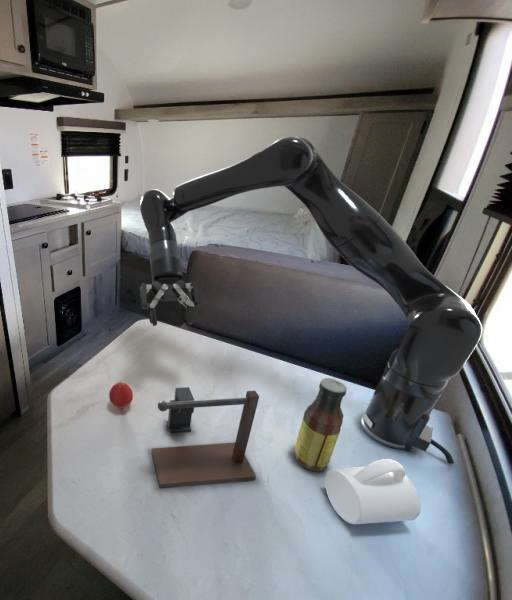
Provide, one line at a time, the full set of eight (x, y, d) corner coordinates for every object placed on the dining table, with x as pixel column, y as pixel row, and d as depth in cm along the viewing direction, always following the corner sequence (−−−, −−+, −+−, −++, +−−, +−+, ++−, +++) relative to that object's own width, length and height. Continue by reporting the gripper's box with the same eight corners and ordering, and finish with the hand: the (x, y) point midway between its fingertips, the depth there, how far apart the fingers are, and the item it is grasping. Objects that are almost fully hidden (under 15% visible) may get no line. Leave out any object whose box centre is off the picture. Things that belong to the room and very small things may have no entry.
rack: (255, 480, 63) (275, 409, 54) (157, 488, 61) (163, 416, 53) (237, 445, 70) (253, 378, 62) (149, 452, 69) (153, 384, 60)
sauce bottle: (322, 451, 68) (352, 377, 60) (330, 477, 63) (364, 400, 54) (288, 443, 70) (312, 370, 62) (293, 467, 65) (320, 392, 56)
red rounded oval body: (105, 411, 79) (105, 386, 76) (114, 396, 84) (114, 371, 80) (128, 418, 77) (128, 392, 74) (135, 401, 82) (136, 377, 78)
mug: (319, 487, 61) (338, 443, 56) (371, 484, 62) (394, 440, 56) (351, 535, 54) (376, 489, 48) (409, 531, 54) (440, 485, 49)
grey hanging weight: (166, 423, 76) (169, 385, 71) (187, 421, 76) (192, 384, 71) (172, 441, 71) (176, 402, 66) (194, 440, 71) (199, 401, 66)
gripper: (139, 256, 77) (145, 321, 72) (197, 254, 78) (207, 318, 73) (135, 269, 84) (141, 329, 79) (188, 267, 85) (197, 327, 80)
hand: (172, 324), depth 76 cm, fingers open, 8 cm apart
